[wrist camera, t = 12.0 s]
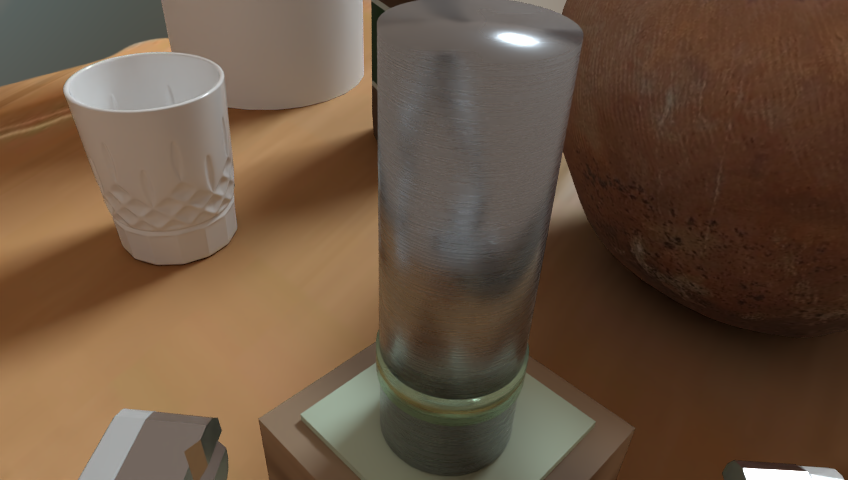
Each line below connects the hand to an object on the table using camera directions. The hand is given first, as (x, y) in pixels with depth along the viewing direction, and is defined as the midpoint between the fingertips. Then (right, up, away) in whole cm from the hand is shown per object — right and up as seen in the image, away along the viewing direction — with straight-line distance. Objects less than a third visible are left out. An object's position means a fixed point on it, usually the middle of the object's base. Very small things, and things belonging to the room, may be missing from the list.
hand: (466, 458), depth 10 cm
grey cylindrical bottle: (0, -2, +11) cm, 11 cm away
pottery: (+17, +2, +29) cm, 33 cm away
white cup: (-16, +4, +29) cm, 33 cm away
